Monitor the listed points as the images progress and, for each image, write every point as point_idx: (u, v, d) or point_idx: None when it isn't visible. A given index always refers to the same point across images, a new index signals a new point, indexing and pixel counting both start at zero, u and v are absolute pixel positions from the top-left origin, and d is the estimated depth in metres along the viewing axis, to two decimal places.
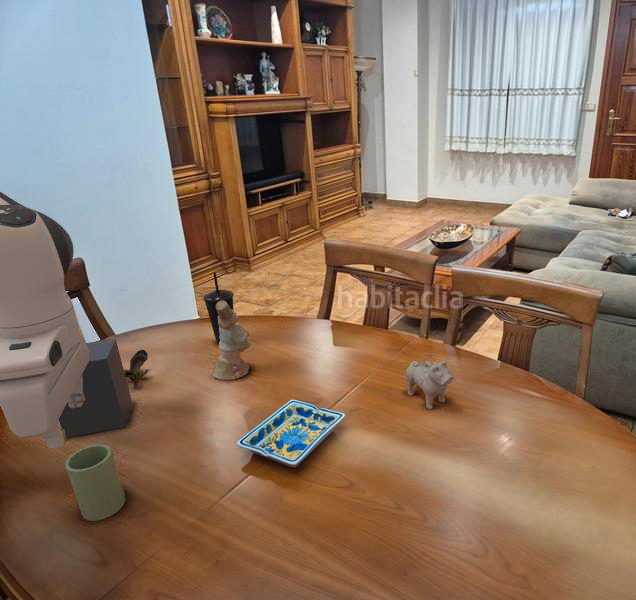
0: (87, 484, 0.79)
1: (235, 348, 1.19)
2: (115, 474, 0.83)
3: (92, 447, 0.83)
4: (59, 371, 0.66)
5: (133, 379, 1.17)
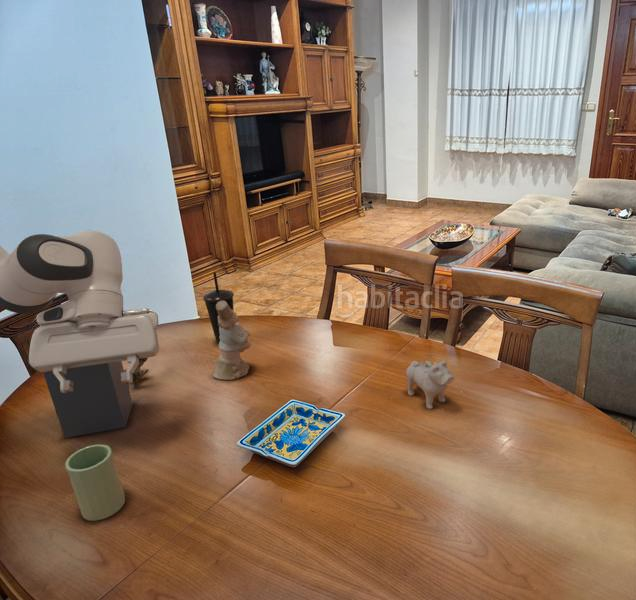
0: (87, 484, 0.79)
1: (235, 348, 1.19)
2: (115, 474, 0.83)
3: (92, 447, 0.83)
4: (83, 338, 0.91)
5: (133, 379, 1.17)
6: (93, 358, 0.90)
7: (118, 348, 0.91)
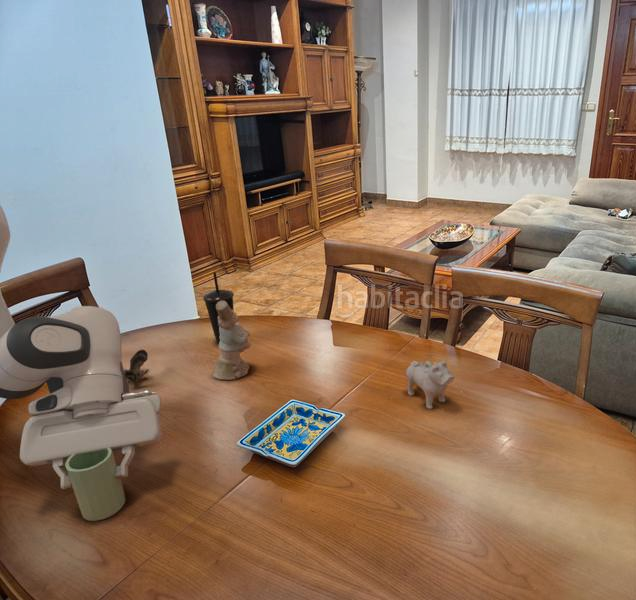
0: (87, 484, 0.79)
1: (235, 348, 1.19)
2: None
3: None
4: (79, 427, 0.83)
5: (133, 379, 1.17)
6: (90, 451, 0.82)
7: (117, 438, 0.84)
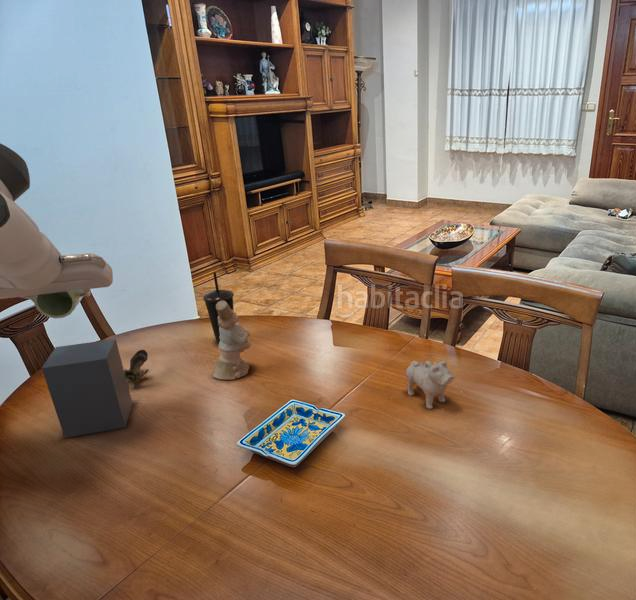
0: None
1: (235, 348, 1.19)
2: None
3: None
4: None
5: (133, 379, 1.17)
6: None
7: (74, 288, 0.91)
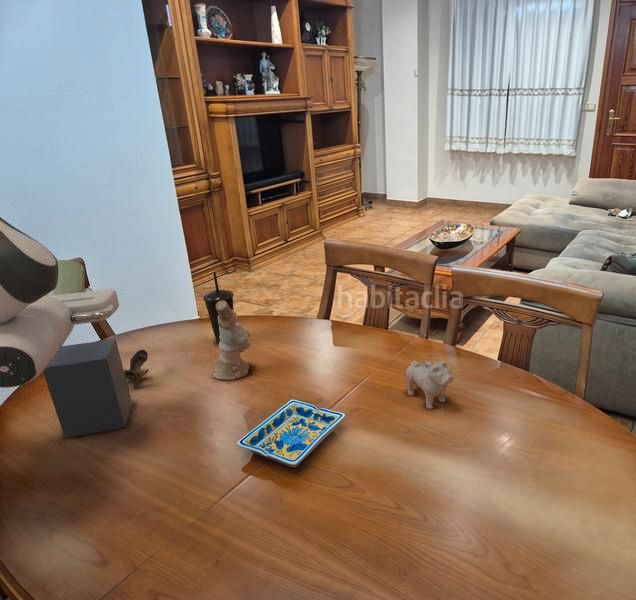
0: None
1: (235, 348, 1.19)
2: None
3: None
4: None
5: (133, 379, 1.17)
6: None
7: None
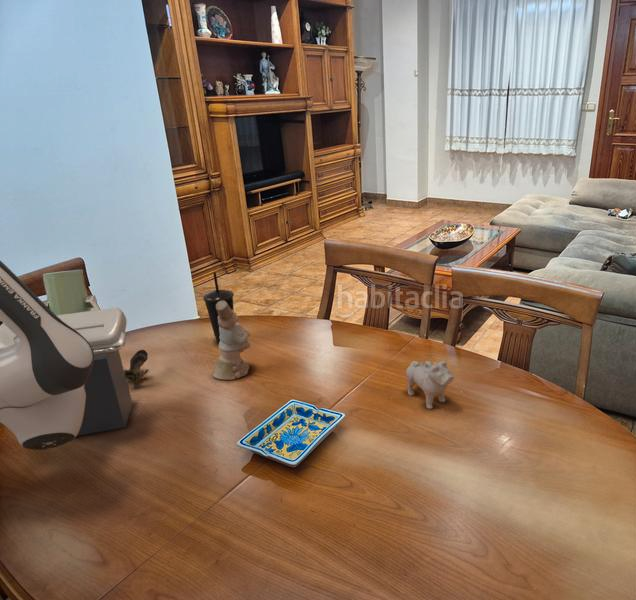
0: None
1: (235, 348, 1.19)
2: None
3: None
4: None
5: (133, 379, 1.17)
6: None
7: None
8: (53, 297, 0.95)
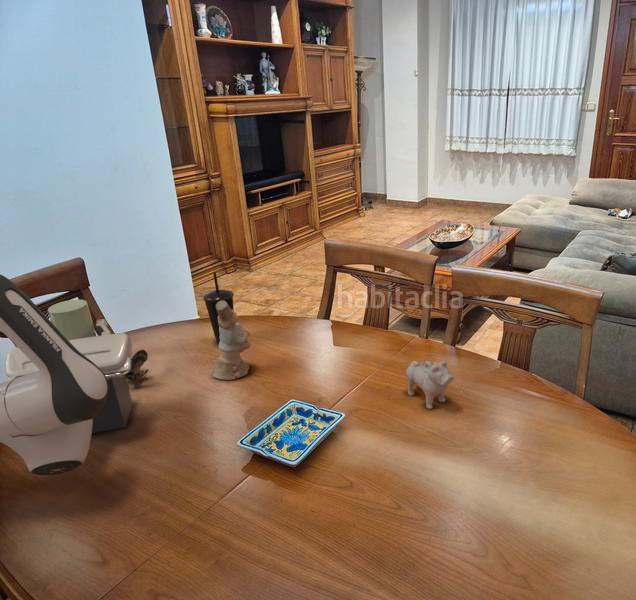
0: None
1: (235, 348, 1.19)
2: None
3: None
4: None
5: (133, 379, 1.17)
6: None
7: None
8: None
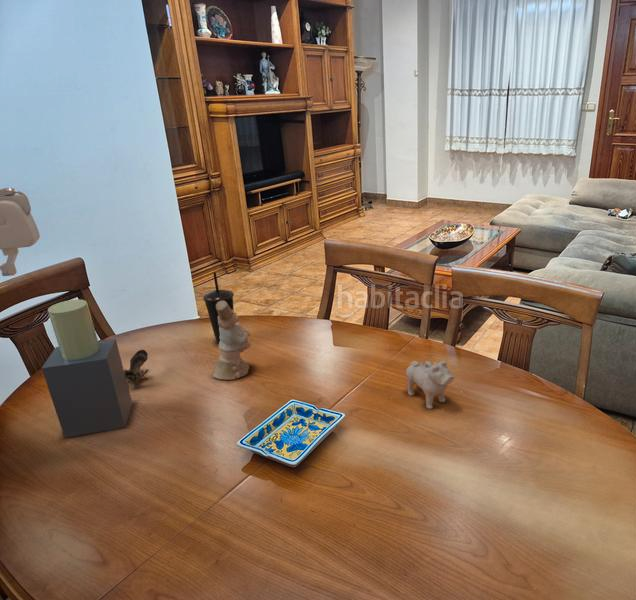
0: None
1: (235, 348, 1.19)
2: None
3: None
4: None
5: (133, 379, 1.17)
6: None
7: None
8: (61, 334, 0.96)
